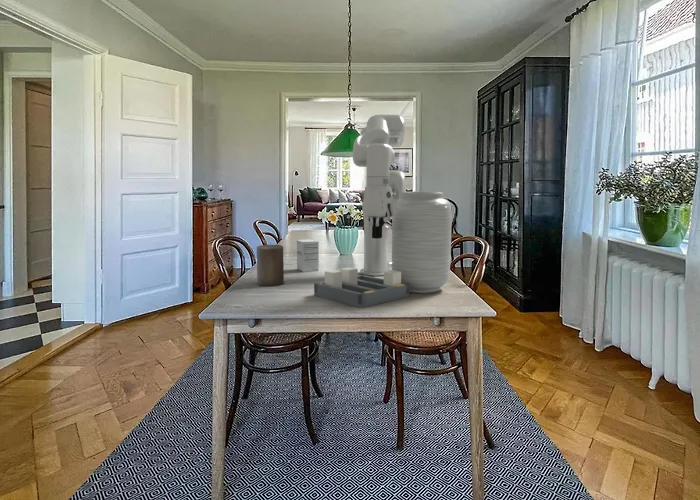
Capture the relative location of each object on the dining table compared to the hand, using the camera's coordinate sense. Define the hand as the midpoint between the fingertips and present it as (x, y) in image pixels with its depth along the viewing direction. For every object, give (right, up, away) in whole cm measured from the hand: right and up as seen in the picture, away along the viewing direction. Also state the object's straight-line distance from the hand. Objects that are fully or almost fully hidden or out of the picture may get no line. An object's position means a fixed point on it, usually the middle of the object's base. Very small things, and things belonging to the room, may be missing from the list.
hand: (377, 237), depth 161 cm
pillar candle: (-38, -16, +16) cm, 44 cm away
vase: (+16, -18, +9) cm, 25 cm away
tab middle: (-9, -17, +2) cm, 20 cm away
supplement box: (-27, -13, +43) cm, 52 cm away
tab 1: (-14, -18, -3) cm, 23 cm away
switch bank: (-5, -19, -2) cm, 20 cm away
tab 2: (+5, -18, -3) cm, 19 cm away
